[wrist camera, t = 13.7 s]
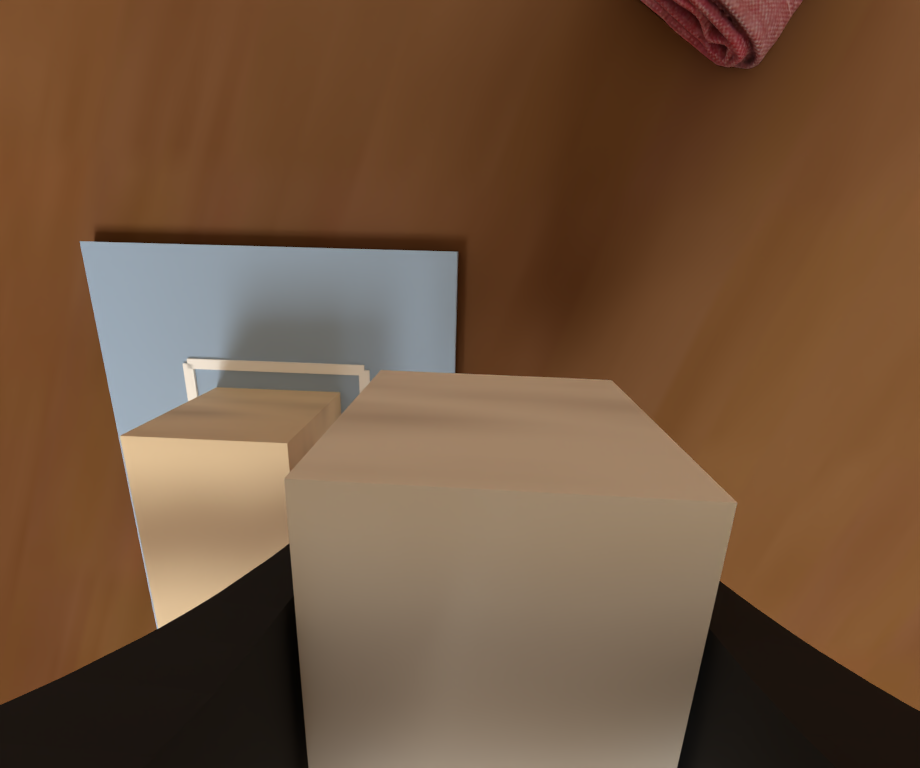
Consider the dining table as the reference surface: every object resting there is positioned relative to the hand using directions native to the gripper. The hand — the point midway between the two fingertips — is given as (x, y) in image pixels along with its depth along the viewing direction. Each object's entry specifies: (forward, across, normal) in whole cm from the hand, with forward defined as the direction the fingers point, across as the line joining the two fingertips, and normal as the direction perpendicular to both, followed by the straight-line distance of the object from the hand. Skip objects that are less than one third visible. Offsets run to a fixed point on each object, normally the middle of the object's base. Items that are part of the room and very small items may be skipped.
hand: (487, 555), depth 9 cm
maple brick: (+9, +8, +3) cm, 12 cm away
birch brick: (+1, 0, 0) cm, 1 cm away
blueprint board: (+9, +8, +3) cm, 13 cm away
